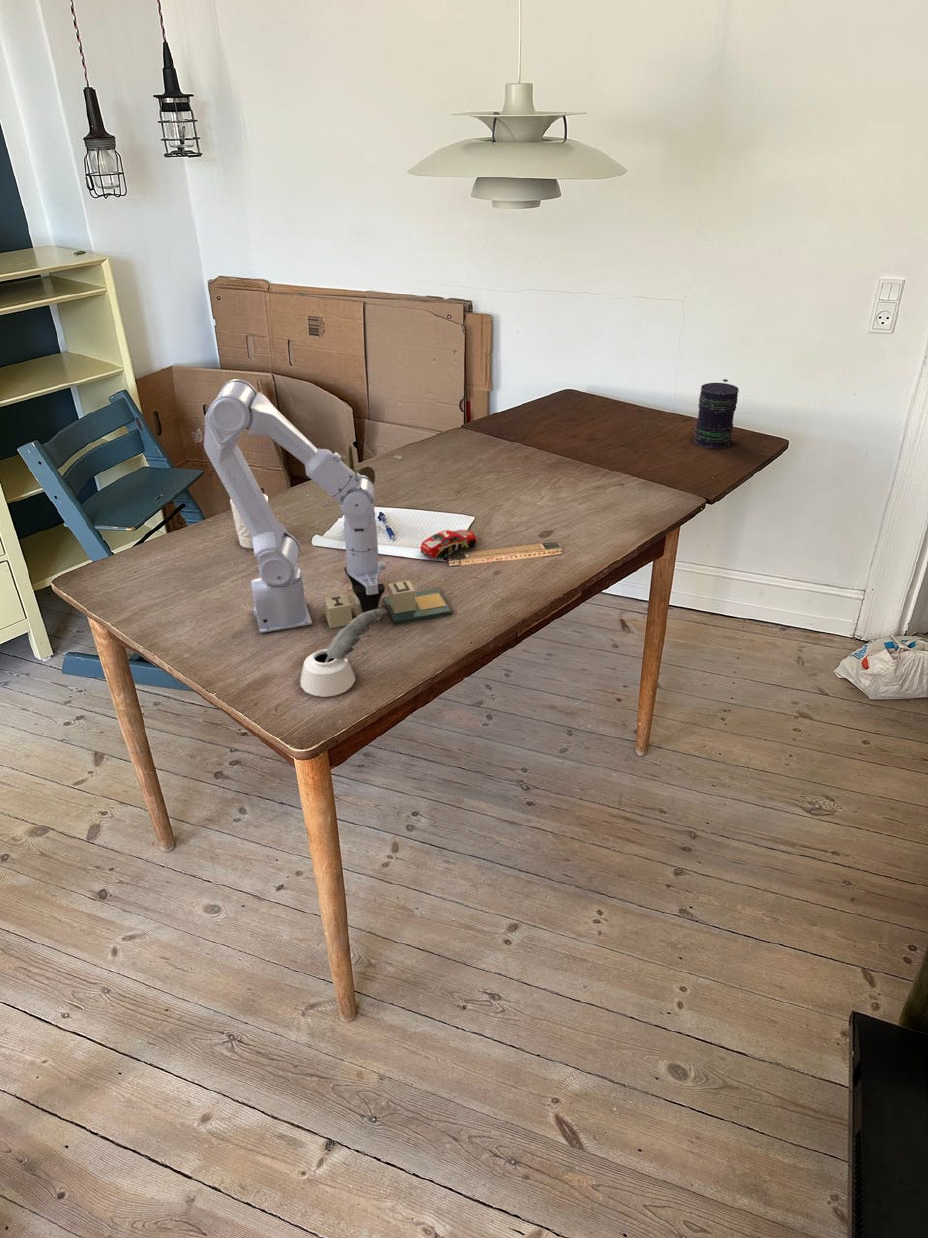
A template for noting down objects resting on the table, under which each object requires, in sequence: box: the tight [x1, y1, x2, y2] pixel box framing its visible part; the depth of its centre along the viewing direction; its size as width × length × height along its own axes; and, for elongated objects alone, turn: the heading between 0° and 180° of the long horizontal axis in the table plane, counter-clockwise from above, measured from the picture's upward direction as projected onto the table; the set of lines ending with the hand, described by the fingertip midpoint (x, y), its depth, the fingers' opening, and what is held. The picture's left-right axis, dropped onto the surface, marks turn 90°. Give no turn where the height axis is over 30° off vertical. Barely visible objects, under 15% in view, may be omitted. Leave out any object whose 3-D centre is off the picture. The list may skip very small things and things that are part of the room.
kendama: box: [339, 445, 376, 486], centre depth 191 cm, size 6×10×20 cm, turn 47°
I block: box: [323, 594, 353, 629], centre depth 163 cm, size 4×4×4 cm
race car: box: [420, 529, 477, 559], centre depth 188 cm, size 13×5×4 cm, turn 127°
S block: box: [351, 592, 381, 621], centre depth 165 cm, size 4×4×4 cm
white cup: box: [229, 493, 270, 549], centre depth 190 cm, size 8×8×10 cm
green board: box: [382, 588, 452, 625], centre depth 168 cm, size 11×9×1 cm
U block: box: [387, 580, 416, 614], centre depth 166 cm, size 4×4×4 cm
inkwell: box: [299, 608, 389, 698], centre depth 148 cm, size 9×18×10 cm, turn 135°
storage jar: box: [693, 378, 740, 449], centre depth 237 cm, size 10×10×18 cm
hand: (366, 609), depth 165 cm, fingers open, 5 cm apart
